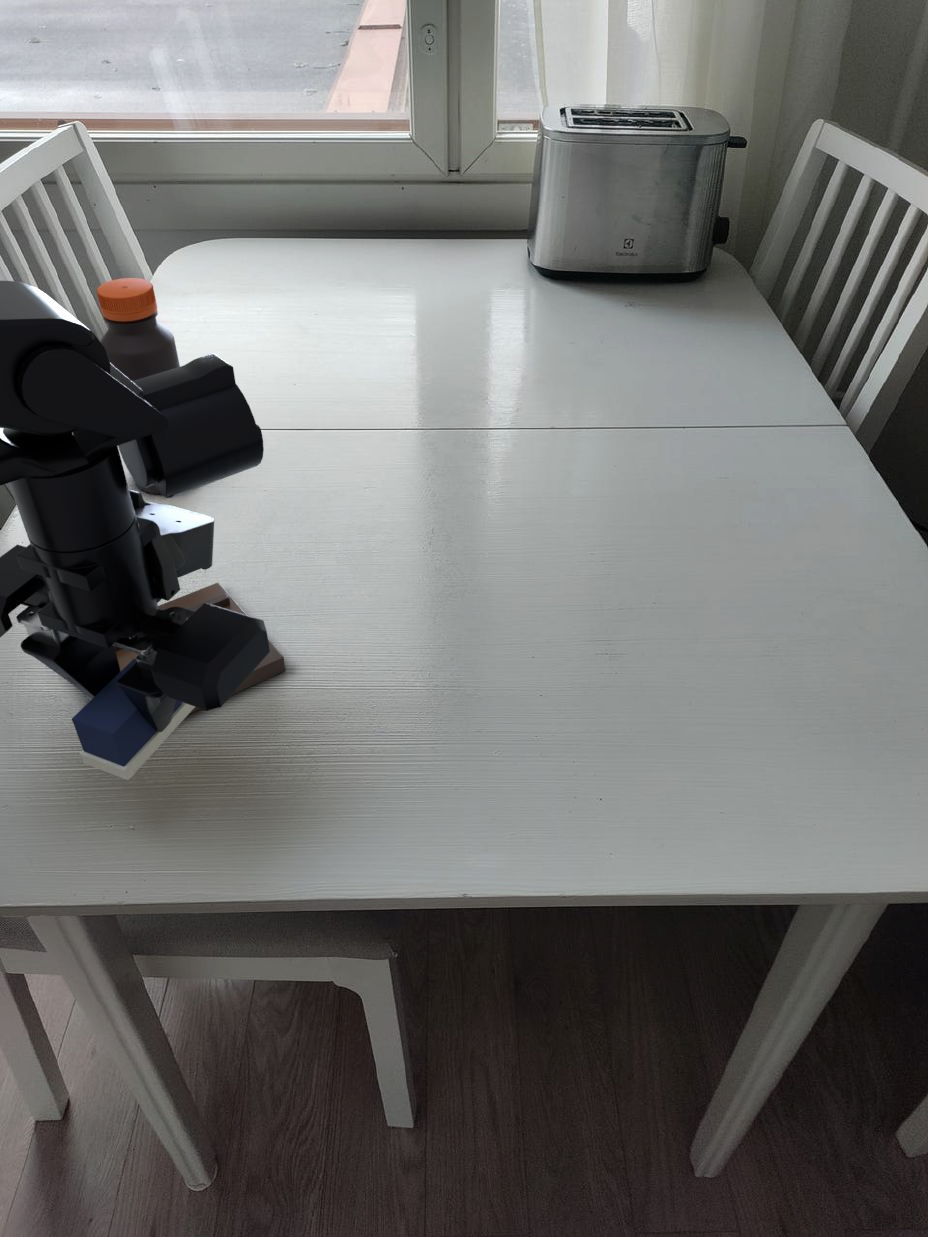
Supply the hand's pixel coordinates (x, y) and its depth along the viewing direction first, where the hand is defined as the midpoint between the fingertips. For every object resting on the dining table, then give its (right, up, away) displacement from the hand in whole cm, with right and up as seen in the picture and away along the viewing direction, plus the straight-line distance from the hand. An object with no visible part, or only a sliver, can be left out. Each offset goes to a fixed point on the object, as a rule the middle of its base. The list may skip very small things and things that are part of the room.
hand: (141, 719), depth 63 cm
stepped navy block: (0, -1, +1) cm, 1 cm away
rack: (-2, +3, +15) cm, 15 cm away
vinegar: (-9, +21, +37) cm, 43 cm away
